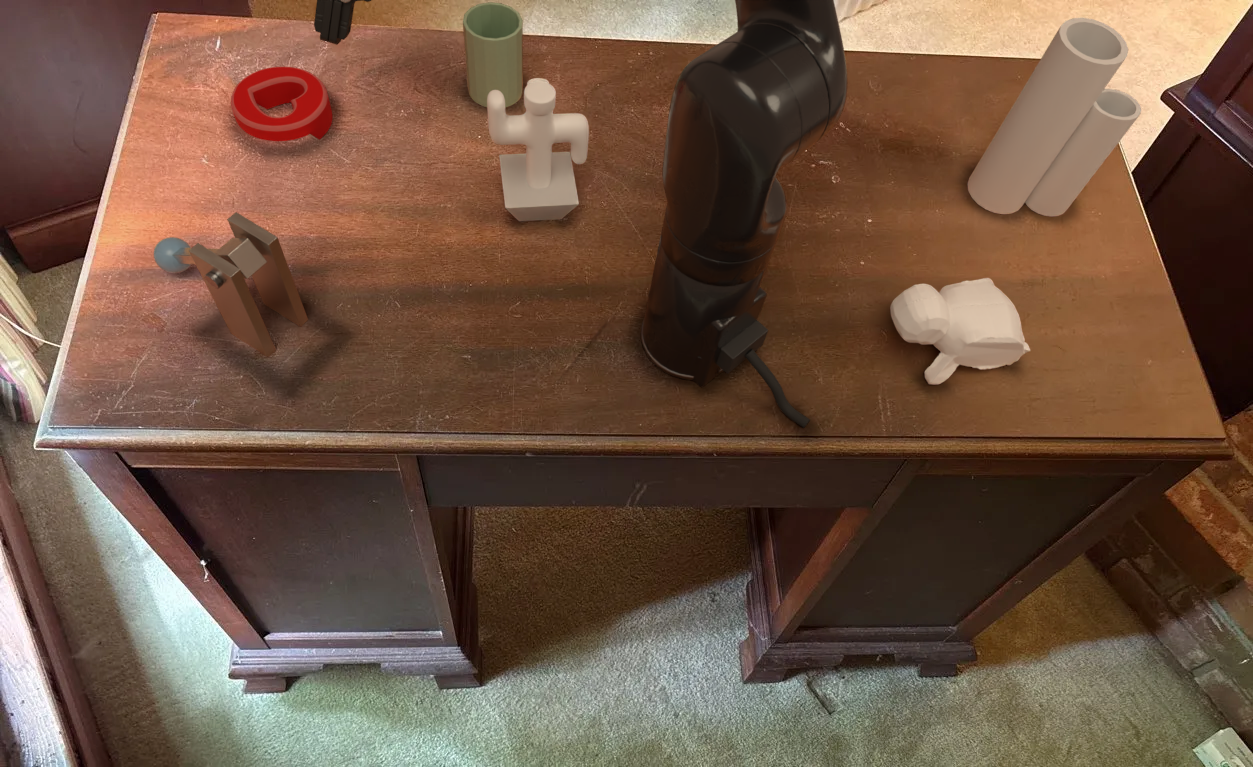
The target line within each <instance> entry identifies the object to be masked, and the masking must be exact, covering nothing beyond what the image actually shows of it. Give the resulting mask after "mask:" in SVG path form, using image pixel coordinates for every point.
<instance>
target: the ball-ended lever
mask: <svg viewBox="0 0 1253 767" xmlns="http://www.w3.org/2000/svg"><path fill="white" fill-rule="evenodd" d="M191 248H192V247H191V245H190V244H189V243H188V242H187V241H186V240H184V239H182V238H179V237H176V236H172V237H171V236H170V237H165V238H163V239H161V240H159V241H158V242H157V243H156V245H155V247H154V249H153V259H154V262H155V263H156V265H157V266H158V267H159V268H160V269H161V270H163V271H164V272H167V273H169V274H181V273H183V272H185V271H187V270H188V269H190V267H191V266H192V265H196V264H195V262H194V260H193V258H192V256H191V254H190V253H189V250H190V249H191ZM206 248H207V249H209V250H210V251H212V252H213V253H215V254H217V255H218V256H220V257H221V258H223V259H225V260H226V261H228V262H229V263H231V264H233V265H234V266H236V267H237V268H239V269H240V270H241V272H242V275H243V277H244V279H245V280H249V278H251V277H252V275H253V274H254V273H255V272H256V271H257V270H259V269H260V268H261V267H262V266H263V265H264V264H265V263H267V261H266V259H265V258H264V257H263V256H262V255H261V253H260V252H259V251H258V250H257V248H256V247H255V246H254V245H253V243H252V242H251V241H250V240H249V239H248V238H235V237H232V238H230V239H229V240H228V241H226V242H225V243H224V244H223V245H222V246H221V247H219V248H209V247H206Z"/></svg>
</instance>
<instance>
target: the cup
mask: <svg viewBox="0 0 1253 767" xmlns="http://www.w3.org/2000/svg"><path fill="white" fill-rule="evenodd" d="M462 19H463V20H462V29H463V43H464V44H463V45H464V46H463V47H464V58H465V59H464V60H465V70H466V71H465V72H466V73H465V74H466V85H467V86H466V87H467V92H468V95H469V97H470V98H471V100H472V101H473V102H474V103H476V104H477V105H479V106H481V107H484V108H487V97H488V94H489V92H491V91H492V90H499V91H500V92H501V93H502V94H503V96H504V99H505V109H506V108H508V107H511V106H513V105H515V104H517V103H518V102H519V101H520V99H521V98H522V96H523V94H524V26H523V25H524V24H523V23H524V20H523V18H522V16H521V14H520V12H519V11H517V10H516V9H514V7H513V6H510V5H507V4H506V3H505V4H504V3H503V2H502V3H501V2H491V1H489V2H482V3H477V4H476V5H473V6H471V7H469V8H468V10H467V11H466V12H465V13H464V14H463V18H462Z"/></svg>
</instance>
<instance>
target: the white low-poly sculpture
mask: <svg viewBox="0 0 1253 767" xmlns="http://www.w3.org/2000/svg"><path fill="white" fill-rule="evenodd" d="M889 309H890V318H891V320H892V322H893V325H894V328H895V330H896V331H897V333H898V334H899V336H900V337H901V339H903V340H904V341H905V342H907V343H909V344H920V345H921V346H922V345H933V346H934V347H935V349H937V350H938V351H940V352H939V353H938V355H937V356H936V357H935V359H934V360H933V362H932V363H931V364H930V366H929V365H928V367H927V368H926V369H925V370H924V372H923V373H924V379H925V380H926V382H927V384H928V385H940V384H942V383H944V382H946V381H947V380H948V379H949V378H950V377H951V376H952V375H953V374H954V372H955V371H957V368H958V367H959V366H965V367H972V369H978V370H984V371H985V370H991V369H996V368H997V369H998V368H1000V367H1003V366H1006V365H1007V366H1011V365H1012V364H1014V363H1015V362H1016V363H1017V362H1018V361H1019V360H1020V359H1021V357H1022V356H1024V355H1025V354H1027V353H1029V352H1031V348H1030V346H1029V344H1028V342H1025V340H1026V339H1025V335H1024V333H1023V332H1024V331H1023V329H1022V322H1021V317H1020V314H1019V312H1018V310H1017V308H1016V305H1015V304H1014V303H1013V301H1011V299H1010V298H1009V297H1008V296H1007V295H1006V293H1004V292H1003V291H1002V290H1001V289H1000V288H998V287H997V286H996V285H995V283H994V281H993V280H992V279H991V278H990V277H983V278H978V279H973V280H962V281H961V282H955V283H952V284H947V285H944V286H943V287H941V289H940V290H939V291H938V290H937V289H936V288H935V287H934V286H932V285H931V284H928V283H918V284H913V285H912V286H910V287H908V288H906V289H904V290H903V291H902V292H901V293H899V294H898V295H897V296H896V297H895V298H894V299H893V300H892V302H891V304H890V306H889Z"/></svg>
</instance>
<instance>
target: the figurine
mask: <svg viewBox="0 0 1253 767" xmlns="http://www.w3.org/2000/svg"><path fill="white" fill-rule="evenodd" d="M556 101H557V91H556V89H555V87H554V86H553V85H552V84H551V83H550V81H549V80H548V79H546V78H542V77H534V78H531V79H529V80H527V82H526V86H525V87H524V88H523V106H524V108H525V112H524V113H522V114H513V115H511V114H510V115H509V114H507V110H506V108H505V99H504V96H503V94H502V93H501V92H500V91H499V90H492V91H491V92H489V94H488V97H487V107H486V109H487V110H486V111H487V129H488V134H489V137H490V139H491V141H492V142H493V143H494V144H495V145H498V146H515V145H516V146H517V145H523V146H525V152H524V153H504V154H503V153H502V154H498V156H499V157H498V158H499V165H500V166H499V167H500V175H501V183H502V192H503V199H504V208H505V210H507V212H509V213H510V215H512V217H514V218H515V219H516V220H517V221H518V222H534V221H536V222H537V221H552V220H553V221H554V220H562V219H563V218H565V217H566V216H567V215H568V214H569V213H570V212H572V211H573V210H575V208H577V207H578V206H579V205H580V203H579V202H580V201H579V196H578V190H577V183H576V179H575V174H574V167H573V163H574V164H577V165H583V164H585V163H586V161H587V158H588V150H589V136H590V126H589V121H588V118H587V116H585V115H584V114H582V113H579V112H570V113H569V112H566V113H554V110H555V108H556ZM563 143H564V144H565V143H569V144H570V151H554V152H553V145H554V144H563ZM572 161H573V162H572Z"/></svg>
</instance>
